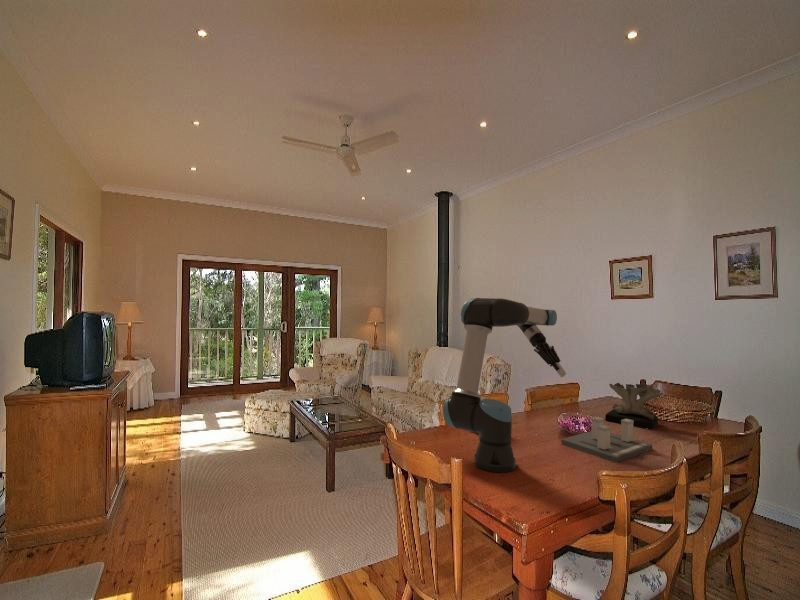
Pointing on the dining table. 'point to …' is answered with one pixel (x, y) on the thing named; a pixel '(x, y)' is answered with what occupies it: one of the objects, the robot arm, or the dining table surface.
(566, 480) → the dining table surface
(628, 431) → the far lever
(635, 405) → the coral
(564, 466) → the dining table surface
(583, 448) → the switch panel
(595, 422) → the middle lever
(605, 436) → the near lever
